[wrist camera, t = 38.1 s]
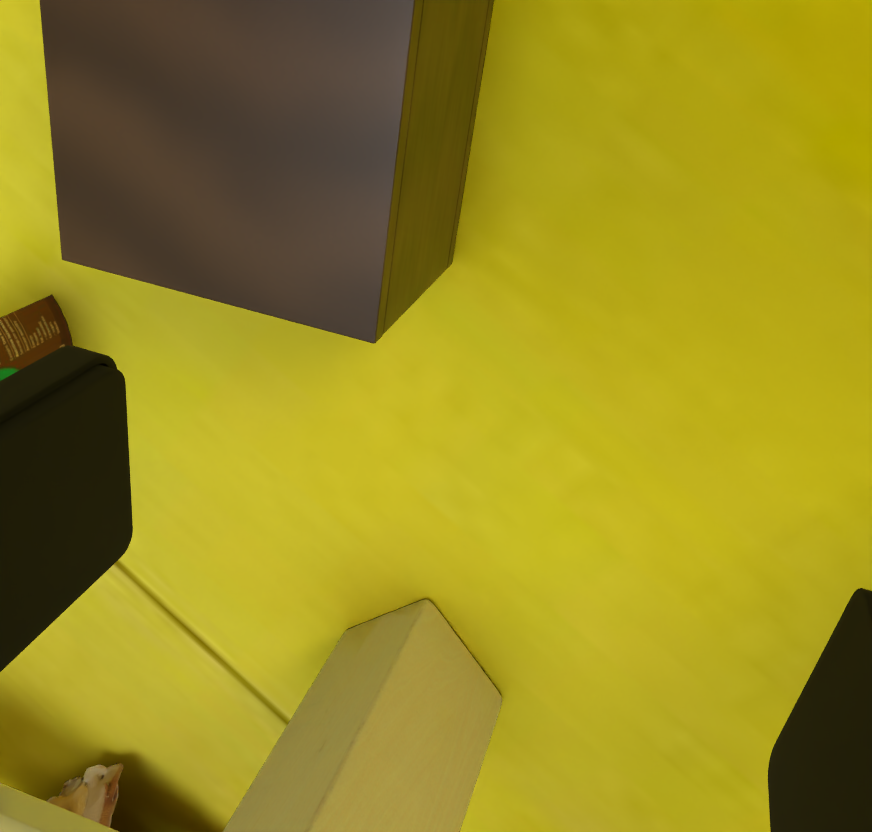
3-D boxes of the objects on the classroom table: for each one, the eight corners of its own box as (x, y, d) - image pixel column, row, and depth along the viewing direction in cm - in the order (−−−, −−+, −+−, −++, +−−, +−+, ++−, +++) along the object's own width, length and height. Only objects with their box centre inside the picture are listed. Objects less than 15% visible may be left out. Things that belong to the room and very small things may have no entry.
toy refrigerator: (332, 630, 49) (110, 995, 32) (426, 592, 46) (237, 980, 28) (408, 726, 51) (239, 1123, 33) (505, 697, 48) (373, 1123, 30)
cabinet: (199, -140, 32) (23, -181, 24) (509, -92, 30) (428, -119, 22) (198, 202, 39) (61, 260, 31) (452, 264, 37) (374, 344, 29)
